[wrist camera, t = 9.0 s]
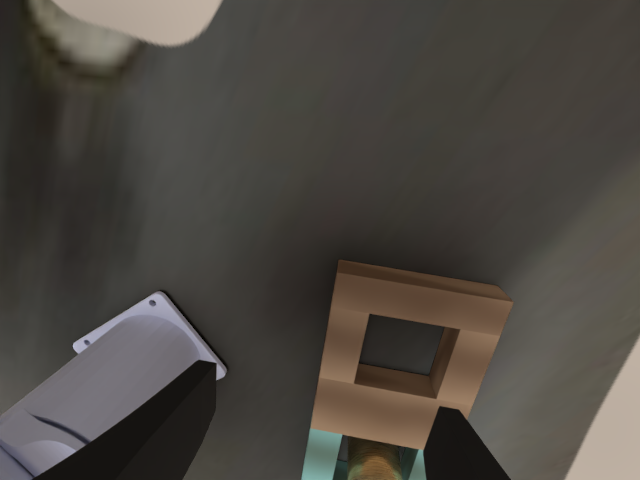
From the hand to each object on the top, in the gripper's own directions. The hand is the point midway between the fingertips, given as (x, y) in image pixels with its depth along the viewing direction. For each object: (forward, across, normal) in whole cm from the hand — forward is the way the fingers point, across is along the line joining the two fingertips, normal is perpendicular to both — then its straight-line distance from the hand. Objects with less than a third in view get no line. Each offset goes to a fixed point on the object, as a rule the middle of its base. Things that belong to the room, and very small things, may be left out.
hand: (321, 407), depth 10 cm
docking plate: (+10, -5, +9) cm, 15 cm away
